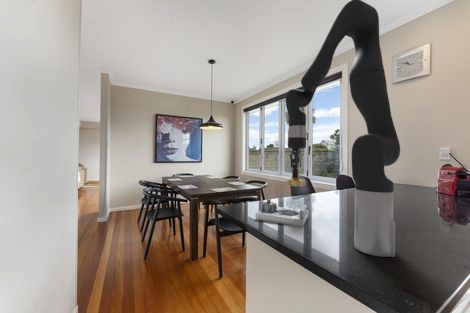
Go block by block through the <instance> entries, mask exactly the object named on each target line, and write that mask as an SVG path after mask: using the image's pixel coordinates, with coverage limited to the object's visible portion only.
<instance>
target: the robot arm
mask: <svg viewBox="0 0 470 313" xmlns="http://www.w3.org/2000/svg"><path fill="white" fill-rule="evenodd" d="M379 17H380V16H379V12H378V11H377V9H376V8H375V7H374V6H372V5H370V4H369V3H367V2H365V1H363V0H350V1H348V2H346V4H344V6H343V7H342V8H341V9H340V11H339V12H338V14H337V16H336V17H335V20H334V22H333V24H332V25H331V28H330V29H329V31H328V33H327V35H326V37H325V39H324V41H323V43H322V45H321V47H320V49H319V51H318V53H317V55H316V57H314V60H313V62H312V63H311V64H310V66H309V67H308V68H307V70H306V71H305V73H304V75H303V76H302V78H301V80H300V84H301V86H302V87H303V89H297V88H291V89H289V90H288V91H287V92H286V95H285V100H284V101H285V106H286V109H287V114H288V115H287V116H288V130H287V148H288V149H292V150H291V153H290V155H289V158H290V167H291V169H292V172H291V173H292V174H291V175H292V176H291V177H292V178H298V168H299V167H298V166H300V168H302V161H303V160H302V159H303V152H302V150H301V149H306V147H307V115H306V113H305V112H303V111H302V110H301V108H306V107H307V106H309V105H310V103H311V102H312V100H313V98H314V95H315V93H316V91H317V88H318V87H319V86H320V84H321V83H322V82H323V81H324V79H325V78H326V76H327V75H328V74H329V72H330V69H331V67H332V62H333V58H334V56H335V53H336V50H337V48H338V46H339V45H340V43H341V42H342V41H343V40H344V38H345V37H349V38H350V39H352V43H353V45H354V50H355V57H354V60H353V63H352V65H351V68H350V71H349V74H348V82H349V88H350V89H349V90H350V94H351V98H352V101H353V103H354V105H355V106H356V108H357V110H358V111H359V113H360V114H361V116H362V117H363V118H362V119H364V122H365V126H366V130H367V133H365V134H364V133H363V134H361V135H359V136H358V137H357V138H356V139H355V140H354V142H353V144H352V146H351V174H352V176H351V177H352V179H353V182H354V229H353V230H354V232H353V233H354V234H353V244H354V245H353V246H354V248H355V249H356V250H357V251H360V252H362V253H363V254H367V255H371V256H374V257H382V258H383V257H384V258H385V257H392V258H395V257H396V256H395V255H396V253H395V252H396V221H395V220H394V190H395V184H394V182H393V181H392V180H390V178H388V177H387V175H386V172H385V167H389V166H392V165H393V164H395V163H396V162H397V161H398V159H399V157H400V155H401V145H400V140H399V136H398V134H397V131H396V128H395V127H396V126H395V124H394V120H393V116H392V112H391V105H390V98H389V94H388V87H387V79H386V78H387V77H386V73H385V68H384V63H383V55H382V50H381V44H380V43H381V41H380V18H379ZM300 172H301V171H300ZM300 172H299V174H300Z"/></svg>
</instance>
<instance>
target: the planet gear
mask: <svg viewBox="0 0 470 313" xmlns="http://www.w3.org/2000/svg"><path fill="white" fill-rule="evenodd" d="M298 167H299V168H298V178H293V177H292V178H287V179H286V181H285V185H286V186H288V187H289V186H291V187H300V188H301V187H302V188H303V187H306V184H307V183H306V182H307V181H306V180H305V179H301V178H300V173H299V172H301V171H300V169H301V167H300V166H298Z"/></svg>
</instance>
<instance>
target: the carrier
mask: <svg viewBox="0 0 470 313" xmlns="http://www.w3.org/2000/svg"><path fill="white" fill-rule="evenodd" d="M271 200H272V199H271V198H267V199H266V201H263V202H260V210H259V211H257V212H256V213H255V220H256V221H257V220H258V221H264V222H270V223H276V224H277V223H278V224H282V225H290V226H295V227H296V226H297V227H302V228H303V227H304V226H305V224H306V223H307V220H308V218H309V210H308V205H307V204H303V206H301V208H300V209H298V208H290V207H282V206H278V204H277V203H276V202H272V201H271Z"/></svg>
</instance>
